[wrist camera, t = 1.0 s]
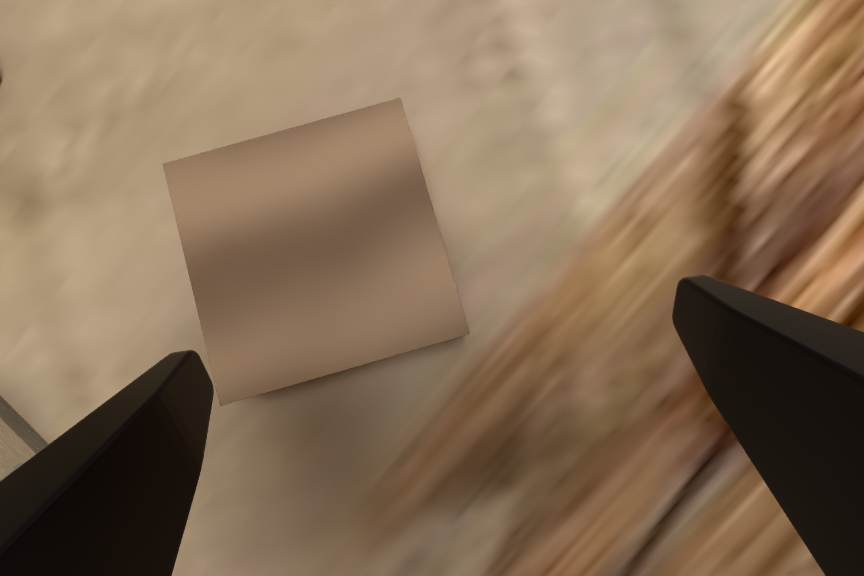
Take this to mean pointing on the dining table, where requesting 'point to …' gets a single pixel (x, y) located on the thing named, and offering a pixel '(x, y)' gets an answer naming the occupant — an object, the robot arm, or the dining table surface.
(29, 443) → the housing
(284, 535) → the dining table surface
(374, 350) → the stand
